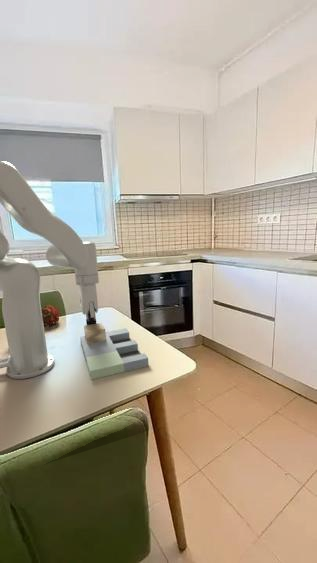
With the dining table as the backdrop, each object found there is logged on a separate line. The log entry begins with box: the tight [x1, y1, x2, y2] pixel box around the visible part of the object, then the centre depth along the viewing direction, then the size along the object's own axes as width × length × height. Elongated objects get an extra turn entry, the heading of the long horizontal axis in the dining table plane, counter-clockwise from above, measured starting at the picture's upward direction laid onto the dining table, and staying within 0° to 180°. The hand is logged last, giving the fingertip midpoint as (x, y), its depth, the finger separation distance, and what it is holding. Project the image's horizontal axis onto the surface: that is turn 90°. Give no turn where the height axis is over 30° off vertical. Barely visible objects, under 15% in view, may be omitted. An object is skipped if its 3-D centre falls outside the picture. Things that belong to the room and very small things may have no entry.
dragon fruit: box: [41, 304, 60, 326], centre depth 114 cm, size 8×8×12 cm
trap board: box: [79, 327, 149, 380], centre depth 86 cm, size 16×24×2 cm, turn 21°
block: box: [83, 322, 107, 344], centre depth 91 cm, size 6×6×4 cm
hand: (92, 329), depth 97 cm, fingers closed
